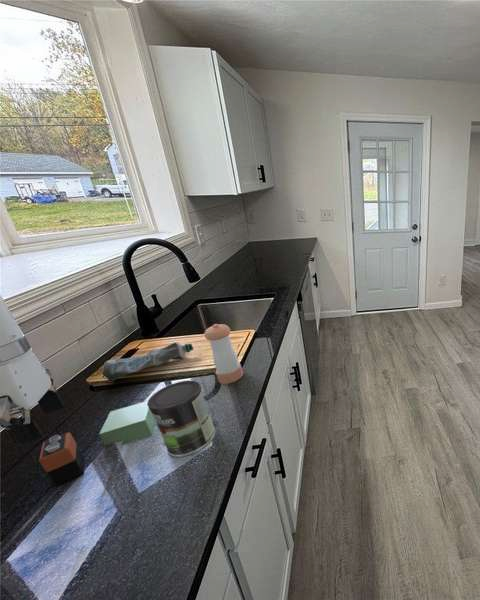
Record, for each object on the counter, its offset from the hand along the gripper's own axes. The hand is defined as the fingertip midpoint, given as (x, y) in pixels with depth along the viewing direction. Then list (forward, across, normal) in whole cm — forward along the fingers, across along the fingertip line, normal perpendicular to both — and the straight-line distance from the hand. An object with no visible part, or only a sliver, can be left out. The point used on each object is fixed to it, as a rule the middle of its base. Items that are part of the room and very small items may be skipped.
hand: (44, 424), depth 64 cm
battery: (+15, 0, -1) cm, 15 cm away
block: (+15, -10, +8) cm, 20 cm away
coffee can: (+15, +2, +22) cm, 27 cm away
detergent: (+15, -45, +7) cm, 48 cm away
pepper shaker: (+15, -23, +31) cm, 42 cm away
